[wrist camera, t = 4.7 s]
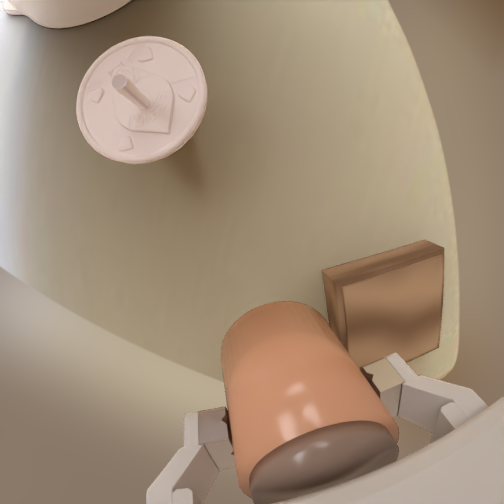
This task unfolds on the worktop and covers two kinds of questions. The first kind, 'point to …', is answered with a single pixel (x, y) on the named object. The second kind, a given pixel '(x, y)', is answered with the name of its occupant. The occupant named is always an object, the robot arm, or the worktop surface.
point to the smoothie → (141, 100)
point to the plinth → (388, 302)
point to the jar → (299, 406)
